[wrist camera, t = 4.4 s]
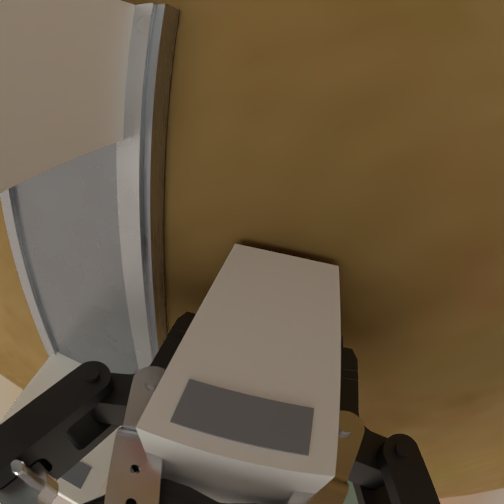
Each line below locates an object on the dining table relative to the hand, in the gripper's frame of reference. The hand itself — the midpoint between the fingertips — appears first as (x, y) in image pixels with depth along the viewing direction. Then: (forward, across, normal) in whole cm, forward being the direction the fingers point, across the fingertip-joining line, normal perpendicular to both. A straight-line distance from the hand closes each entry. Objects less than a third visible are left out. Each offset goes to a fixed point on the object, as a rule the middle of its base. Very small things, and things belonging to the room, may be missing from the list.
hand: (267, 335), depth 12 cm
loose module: (+1, 0, 0) cm, 1 cm away
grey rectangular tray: (+2, +10, +1) cm, 11 cm away
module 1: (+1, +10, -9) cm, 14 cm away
